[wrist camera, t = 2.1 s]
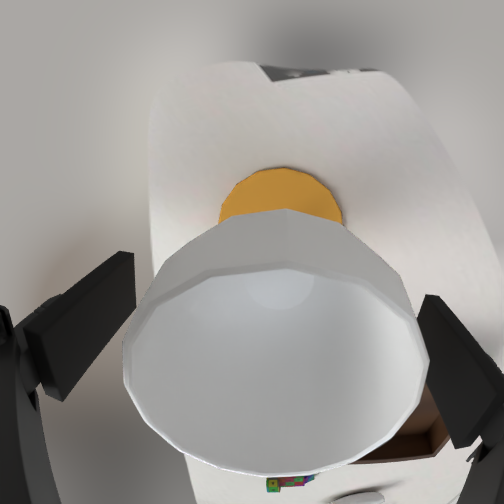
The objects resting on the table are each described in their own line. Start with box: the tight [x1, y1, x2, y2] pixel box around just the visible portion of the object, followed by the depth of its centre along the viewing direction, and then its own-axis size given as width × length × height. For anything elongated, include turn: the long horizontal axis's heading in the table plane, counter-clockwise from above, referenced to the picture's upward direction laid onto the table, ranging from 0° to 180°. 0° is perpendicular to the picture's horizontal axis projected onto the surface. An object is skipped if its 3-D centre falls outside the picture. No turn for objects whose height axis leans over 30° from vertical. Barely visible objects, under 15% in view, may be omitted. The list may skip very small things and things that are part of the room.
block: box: [266, 474, 314, 492], centre depth 32 cm, size 6×4×3 cm
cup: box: [122, 168, 430, 477], centre depth 15 cm, size 9×9×16 cm
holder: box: [349, 382, 450, 464], centre depth 25 cm, size 14×14×4 cm
